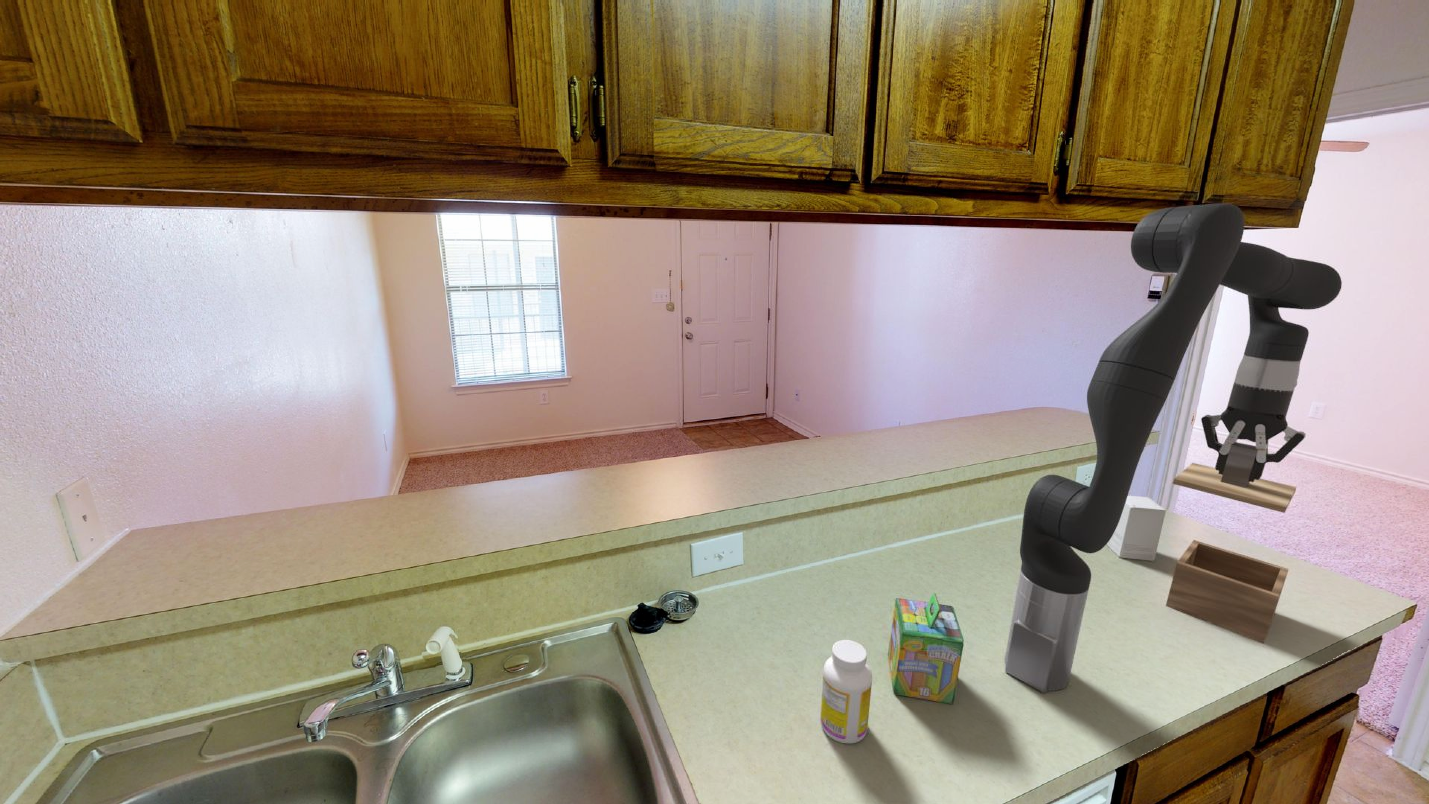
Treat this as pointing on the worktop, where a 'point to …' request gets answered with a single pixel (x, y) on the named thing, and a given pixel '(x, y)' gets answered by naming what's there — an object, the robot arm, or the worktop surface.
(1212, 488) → the lid
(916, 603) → the chalk box
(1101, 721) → the worktop surface
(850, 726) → the supplement bottle
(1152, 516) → the supplement box
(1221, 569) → the box
